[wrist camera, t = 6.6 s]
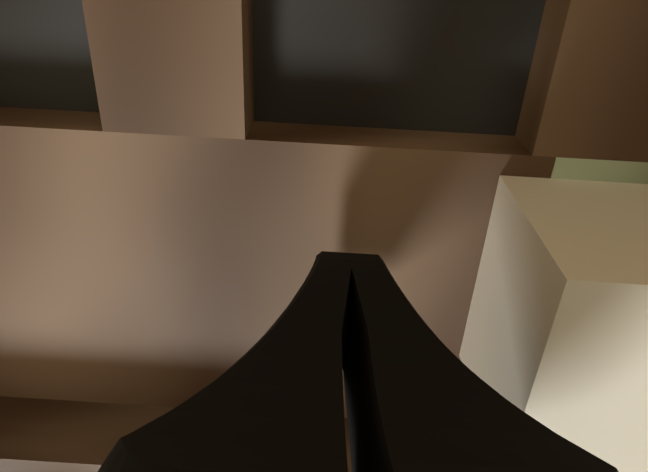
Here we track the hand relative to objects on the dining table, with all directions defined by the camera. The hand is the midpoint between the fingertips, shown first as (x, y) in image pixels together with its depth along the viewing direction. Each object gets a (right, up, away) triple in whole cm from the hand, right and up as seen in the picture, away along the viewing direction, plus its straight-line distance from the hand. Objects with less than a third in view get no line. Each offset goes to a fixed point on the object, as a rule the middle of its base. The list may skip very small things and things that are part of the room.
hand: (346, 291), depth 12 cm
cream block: (+6, 0, +1) cm, 6 cm away
